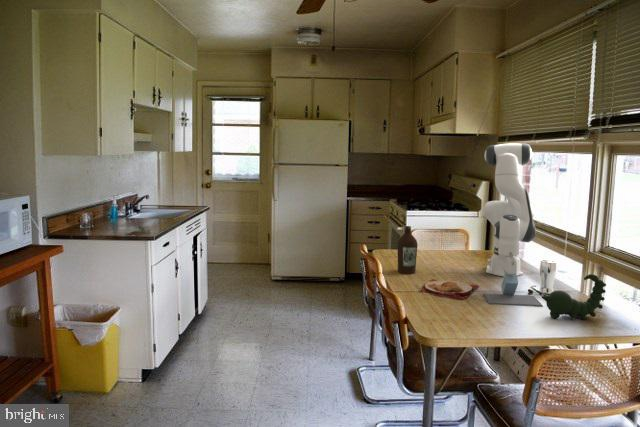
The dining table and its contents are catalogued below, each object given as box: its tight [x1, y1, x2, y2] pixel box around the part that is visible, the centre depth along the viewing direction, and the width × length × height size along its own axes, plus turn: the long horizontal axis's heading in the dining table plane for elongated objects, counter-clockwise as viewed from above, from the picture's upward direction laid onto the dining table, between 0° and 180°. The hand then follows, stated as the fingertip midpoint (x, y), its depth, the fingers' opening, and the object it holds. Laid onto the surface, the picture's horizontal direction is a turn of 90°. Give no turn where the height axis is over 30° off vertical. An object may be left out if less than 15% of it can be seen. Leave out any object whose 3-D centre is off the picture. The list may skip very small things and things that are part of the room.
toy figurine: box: [540, 273, 607, 321], centre depth 197 cm, size 9×19×25 cm
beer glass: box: [539, 259, 557, 295], centre depth 232 cm, size 7×7×15 cm
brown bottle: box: [396, 225, 418, 275], centre depth 268 cm, size 11×11×25 cm
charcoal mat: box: [483, 292, 544, 308], centre depth 220 cm, size 14×22×1 cm, turn 82°
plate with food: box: [418, 278, 480, 300], centre depth 236 cm, size 24×26×4 cm
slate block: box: [500, 274, 519, 295], centre depth 226 cm, size 5×5×10 cm
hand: (506, 280), depth 230 cm, fingers closed
